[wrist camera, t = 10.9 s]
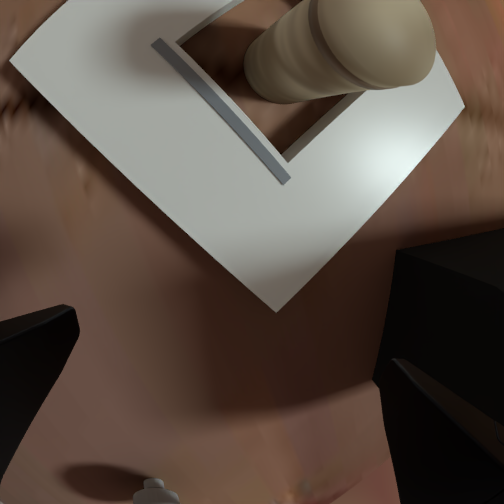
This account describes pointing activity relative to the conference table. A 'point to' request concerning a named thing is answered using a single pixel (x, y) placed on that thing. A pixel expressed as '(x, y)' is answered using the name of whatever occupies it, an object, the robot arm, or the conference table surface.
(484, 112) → the conference table surface
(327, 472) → the conference table surface
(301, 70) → the beech peg
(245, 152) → the hole plate
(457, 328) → the uninterruptible power supply
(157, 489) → the showerhead
